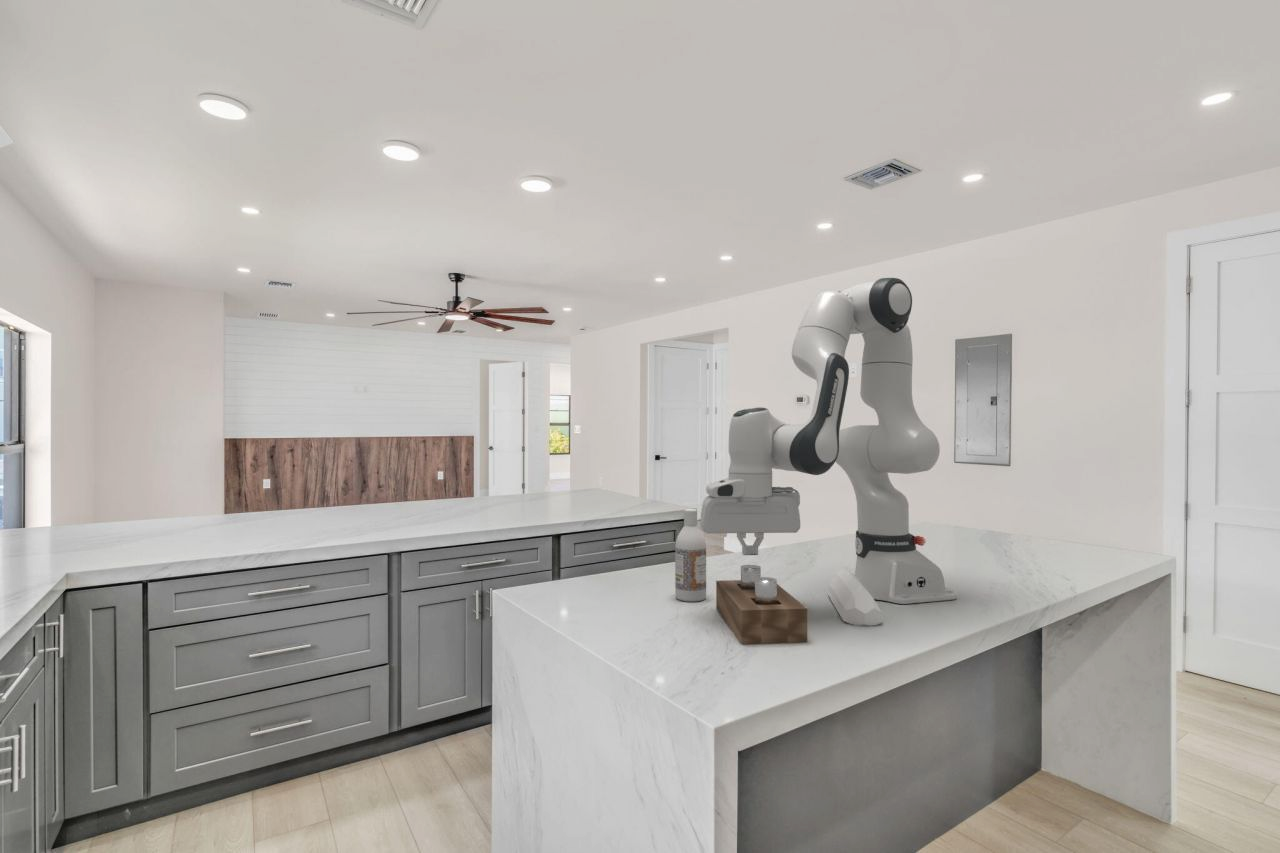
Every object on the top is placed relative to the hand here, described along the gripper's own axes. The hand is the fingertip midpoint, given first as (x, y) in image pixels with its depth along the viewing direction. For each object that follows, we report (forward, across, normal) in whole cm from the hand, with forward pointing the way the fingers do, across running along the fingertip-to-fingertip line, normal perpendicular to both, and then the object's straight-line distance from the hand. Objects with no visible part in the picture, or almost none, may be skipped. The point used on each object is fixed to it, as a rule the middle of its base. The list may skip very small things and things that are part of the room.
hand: (750, 554), depth 129 cm
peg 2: (+8, 0, +11) cm, 14 cm away
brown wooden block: (+12, 0, +5) cm, 14 cm away
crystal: (+13, -23, -3) cm, 26 cm away
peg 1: (+8, 0, 0) cm, 8 cm away
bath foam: (+13, +10, -15) cm, 22 cm away
